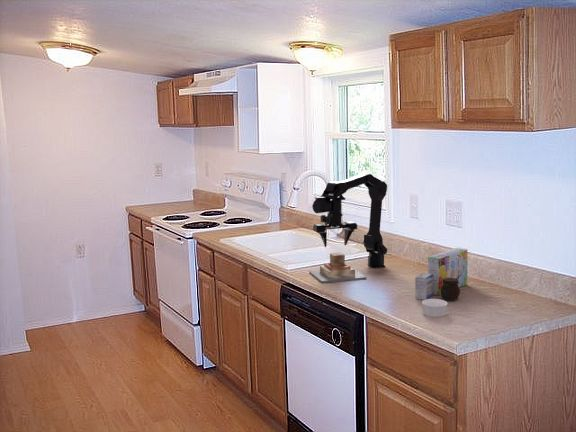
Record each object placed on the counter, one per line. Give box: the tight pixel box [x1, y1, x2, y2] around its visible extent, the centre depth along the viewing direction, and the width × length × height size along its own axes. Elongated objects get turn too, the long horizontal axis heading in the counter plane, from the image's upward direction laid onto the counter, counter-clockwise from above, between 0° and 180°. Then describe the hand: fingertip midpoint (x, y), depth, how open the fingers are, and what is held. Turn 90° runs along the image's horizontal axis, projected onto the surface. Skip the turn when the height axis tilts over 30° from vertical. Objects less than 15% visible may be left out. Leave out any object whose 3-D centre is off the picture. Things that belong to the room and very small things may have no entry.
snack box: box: [427, 247, 468, 296], centre depth 260 cm, size 21×6×15 cm, turn 134°
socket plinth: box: [319, 262, 356, 279], centre depth 284 cm, size 12×12×4 cm
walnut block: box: [329, 252, 346, 267], centre depth 283 cm, size 5×5×6 cm
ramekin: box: [421, 298, 448, 318], centre depth 230 cm, size 9×9×4 cm
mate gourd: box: [440, 274, 462, 302], centre depth 246 cm, size 7×8×10 cm
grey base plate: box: [308, 269, 367, 284], centre depth 284 cm, size 20×18×1 cm
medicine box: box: [414, 272, 434, 301], centre depth 250 cm, size 8×4×9 cm, turn 148°
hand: (335, 246), depth 285 cm, fingers open, 9 cm apart
